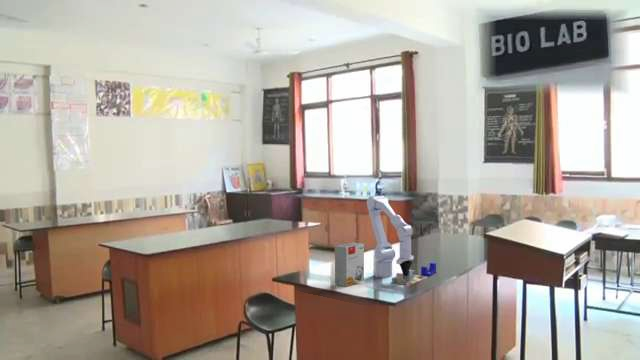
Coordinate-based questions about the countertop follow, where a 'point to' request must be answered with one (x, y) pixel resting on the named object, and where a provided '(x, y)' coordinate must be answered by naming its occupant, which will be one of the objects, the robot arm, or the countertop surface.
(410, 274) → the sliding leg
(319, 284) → the countertop surface
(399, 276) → the board
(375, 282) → the countertop surface
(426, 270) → the cable clip
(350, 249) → the hard drive box
